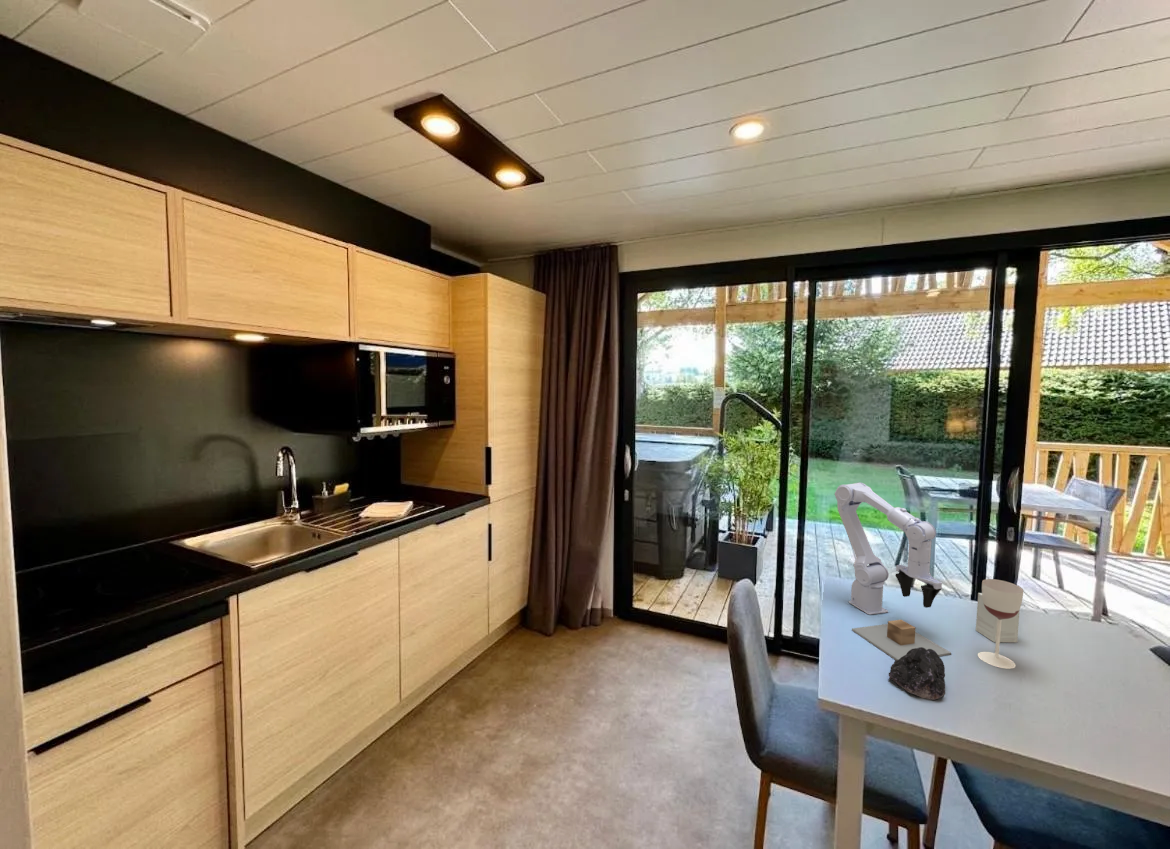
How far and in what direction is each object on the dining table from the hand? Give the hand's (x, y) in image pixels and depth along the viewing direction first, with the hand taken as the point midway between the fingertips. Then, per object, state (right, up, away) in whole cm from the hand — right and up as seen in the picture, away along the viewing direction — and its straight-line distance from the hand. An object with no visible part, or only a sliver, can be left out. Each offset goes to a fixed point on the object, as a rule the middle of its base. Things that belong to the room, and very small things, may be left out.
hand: (916, 601), depth 153 cm
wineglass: (+12, -11, -16) cm, 23 cm away
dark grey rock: (-18, -13, -26) cm, 34 cm away
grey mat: (-10, -10, -6) cm, 15 cm away
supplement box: (+22, -10, -3) cm, 25 cm away
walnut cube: (-9, -10, -6) cm, 15 cm away
